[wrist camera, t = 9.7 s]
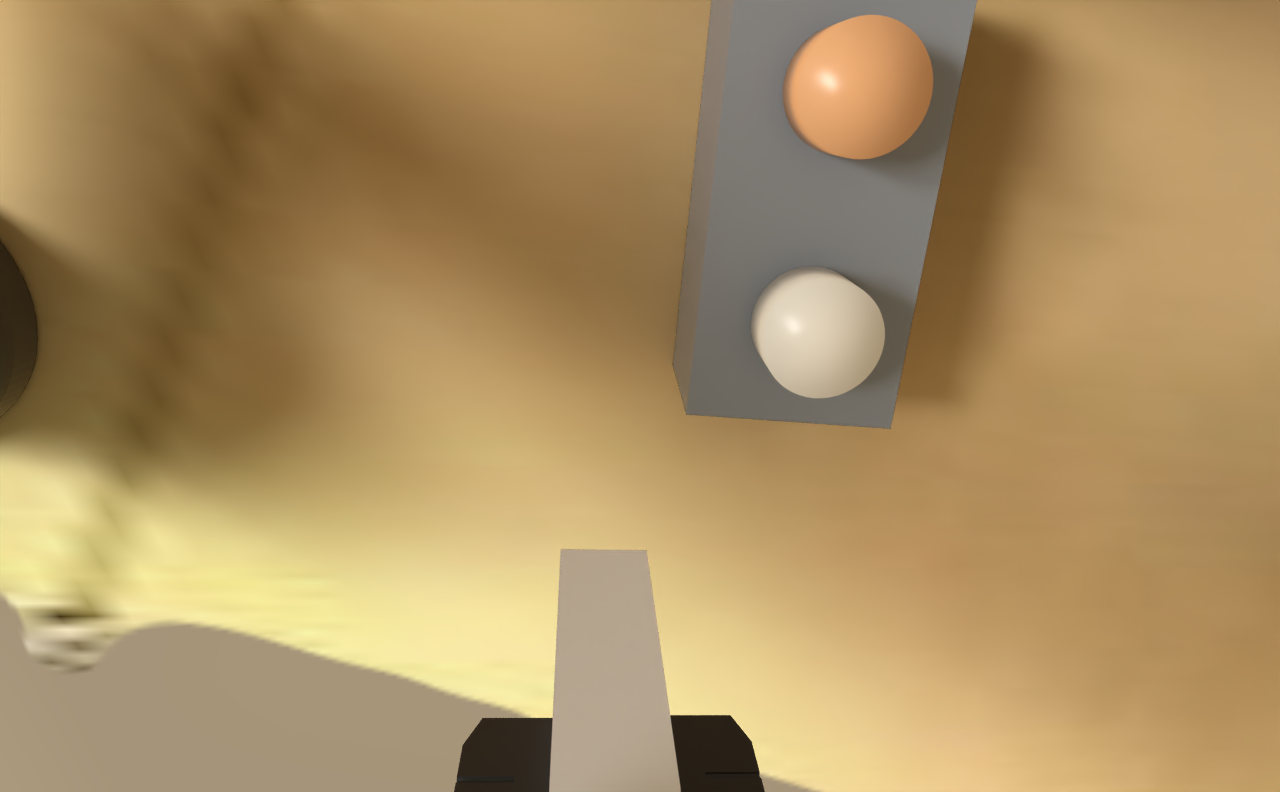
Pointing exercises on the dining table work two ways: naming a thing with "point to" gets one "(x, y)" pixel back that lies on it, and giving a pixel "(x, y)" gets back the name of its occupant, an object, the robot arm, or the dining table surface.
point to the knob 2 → (817, 332)
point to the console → (802, 207)
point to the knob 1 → (858, 87)
